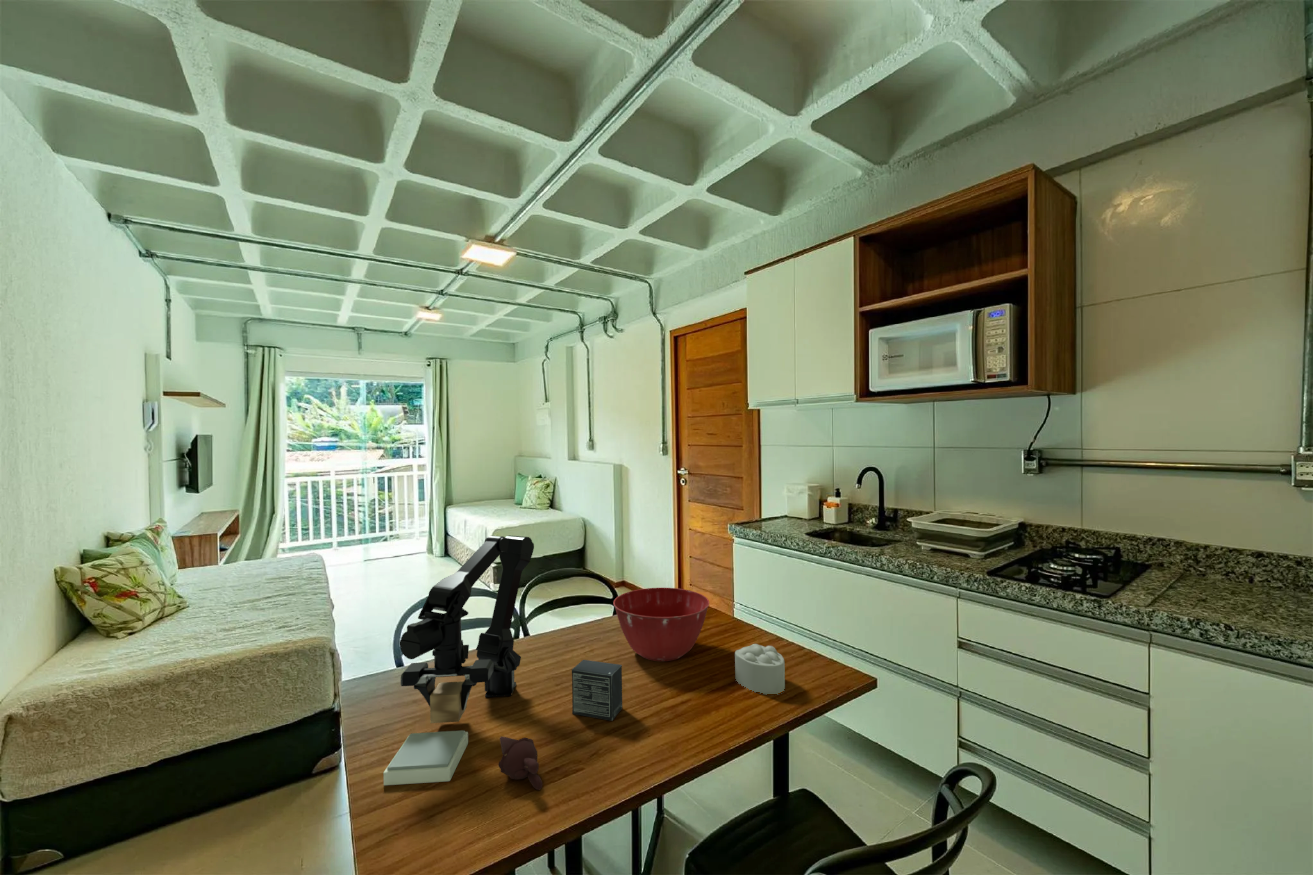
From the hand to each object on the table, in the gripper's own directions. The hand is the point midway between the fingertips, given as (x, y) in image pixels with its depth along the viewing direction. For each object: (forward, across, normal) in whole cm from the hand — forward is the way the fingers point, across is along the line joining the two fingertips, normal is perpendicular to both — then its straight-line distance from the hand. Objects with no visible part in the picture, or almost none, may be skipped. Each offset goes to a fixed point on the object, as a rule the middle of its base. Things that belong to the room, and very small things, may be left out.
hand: (449, 710), depth 115 cm
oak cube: (+1, 0, 0) cm, 1 cm away
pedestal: (+4, 0, +13) cm, 13 cm away
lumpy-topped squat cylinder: (+4, -75, -12) cm, 76 cm away
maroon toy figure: (+4, -19, +18) cm, 26 cm away
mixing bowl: (+4, -51, -34) cm, 62 cm away
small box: (+4, -33, -3) cm, 33 cm away
